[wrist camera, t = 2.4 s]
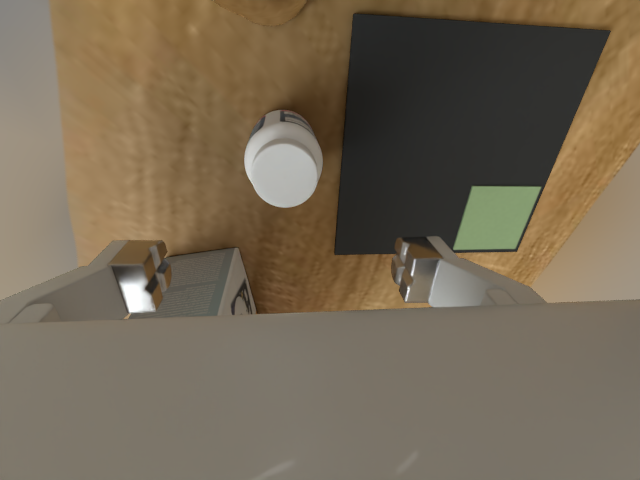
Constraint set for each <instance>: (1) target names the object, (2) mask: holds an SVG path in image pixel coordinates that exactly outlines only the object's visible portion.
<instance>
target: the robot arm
mask: <svg viewBox="0 0 640 480" xmlns="http://www.w3.org/2000/svg"><path fill="white" fill-rule="evenodd" d="M394 249H395V250H396V252H397V254H396V255H395V256H394V257H393V258H392V264H391V273H392V277H393V280H394V282H395V283H396V284H398V285H399V286H400V288H399V292H400V294H401V296H402V298H403V300H404V302H405V303H428V304H430V305H431V306H432V307H429V308H403V309H377V310H351V311H326V312H300V313H274V314H248V315H222V316H196V317H170V318H143V319H123V318H124V317H126V316H127V315H128V314H129V313H145V312H156V311H157V309H158V307H159V305H160V303H161V301H162V299H163V296H162V293H163V292H164V291H166V290H168V288H169V286H170V283H171V277H172V272H171V265H170V263H169V262H168V261H167V260H166V259H165V258H164V257H165V255H166V253H167V249H166V245H165V243H164V242H163V241H162V240H116V241H112V242H111V243H110V244H109V245H108V246H107V247H106V248H105V249H104V250H103V251H102V252H101V253H100V254H99V255H98V256H97V257H96V258H95V259H94V260H93V261H92V262H91V263H90V264H89V265H88V266H82V267H79V268H77V269H74V270H72V271H70V272H67V273H65V274H62V275H60V276H58V277H55V278H53V279H50V280H48V281H46V282H44V283H41V284H38V285H36V286H34V287H31V288H29V289H27V290H24V291H22V292H19V293H17V294H14V295H12V296H10V297H7V298H5V299H3V300H0V480H640V300H613V301H588V302H561V303H547V302H546V301H545V300H544V299H542V298H541V297H540V296H539V295H538V294H537V293H536V292H535V291H534V290H533V289H532V288H531V287H529V286H526V285H524V284H522V283H519V282H517V281H515V280H512V279H510V278H508V277H505V276H503V275H501V274H498V273H496V272H494V271H492V270H489V269H487V268H485V267H482V266H480V265H478V264H475V263H473V262H471V261H468V260H466V259H464V258H458V257H457V256H456V254H455V253H454V252H453V251H452V250H451V249H450V248H449V247H448V246H447V245H446V243H445V242H444V241H443V240H442V239H441V238H440V237H438V236H429V237H400V238H397V240H396V242H395V247H394Z"/></svg>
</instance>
